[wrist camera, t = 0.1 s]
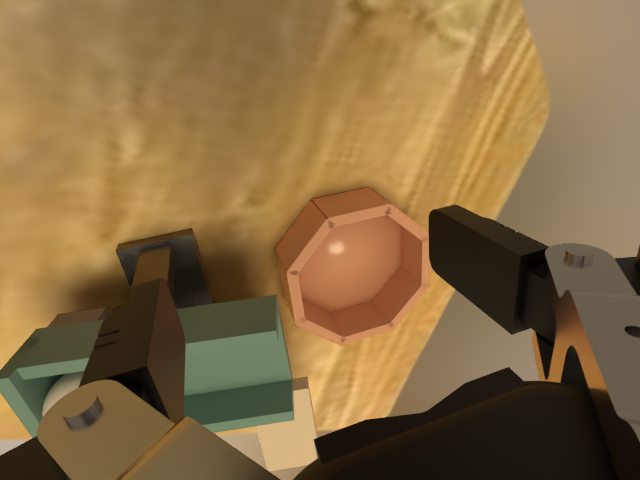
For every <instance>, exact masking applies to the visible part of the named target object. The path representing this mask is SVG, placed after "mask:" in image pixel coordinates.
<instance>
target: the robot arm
mask: <svg viewBox="0 0 640 480" xmlns="http://www.w3.org/2000/svg"><path fill="white" fill-rule="evenodd" d="M429 260H430V263H431V266H432V268H433V270H434V271H435V272H436V274H438V275H439V276H440V277H441V278H442V279H444V280H445V281H446V282H447V283H449V284H450V285H451V286H452V287H454V288H455V289H456V290H457V291H458V292H460V293H461V294H462V295H463V296H465V297H466V298H467V299H468V300H470V301H471V302H472V303H473V304H475V305H476V306H477V307H478V308H479V309H481V310H482V311H483V312H484V313H486V314H487V315H488V316H489V317H491V318H492V319H493V320H494V321H496V322H497V323H498V324H499V325H500V326H502V327H503V328H504V329H505V330H507V331H508V332H509V333H510V334H515V333H517V332H521V331H524V330H527V329H529V328H532V329H533V330H534V331H533V338H532V344H533V349H534V354H535V359H536V365H537V370H538V375H539V381H523V380H522V379H521V378H520V377H519V376H518V375H516V374H515V373H514V372H513V371H512V370H511V369H510V368H509V367H508V368H505V369H502V370H500V371H497V372H494V373H491V374H489V375H486V376H483V377H481V378H478V379H475V380H472V381H470V382H467V383H465V384H463V385H462V386H461V387H459V388H458V389H457V390H455V391H454V392H453V393H451V394H450V395H449V396H447V397H446V398H444V399H443V400H442V401H440V402H439V403H438V404H436V405H435V406H433V407H432V408H431V409H429V410H428V411H426V412H423V413H418V414H410V415H402V416H394V417H385V418H377V419H369V420H364V421H362V422H359V423H356V424H354V425H351V426H348V427H345V428H343V429H340V430H337V431H335V432H332V433H329V434H327V435H324V436H321V437H318V438H316V439H314V444H315V449H316V454H317V459H316V460H315V461H313V462H312V463H310V464H309V465H308V466H307V467H306V468H304V469H303V470H302V471H301V472H300V473H299V474H298V475H297V476H296V477H295V478H294V479H293V480H640V247H639V250H638V254H637V257H627V258H615V259H614V258H613V257H612V255H610V254H609V253H608V252H606V251H604V250H602V249H599V248H596V247H593V246H589V245H584V244H575V243H564V244H557V245H553V246H551V247H548V246H546V245H544V244H542V243H540V242H538V241H536V240H534V239H532V238H529V237H527V236H525V235H523V234H521V233H519V232H515V230H513V229H511V228H509V227H504V225H502V224H500V223H498V222H496V221H494V220H492V219H489V218H484V217H481V216H479V215H477V214H475V213H473V212H471V211H468V210H466V209H464V208H462V207H460V206H458V205H451V206H447V207H443V208H439V209H435V210H432V211H431V212H430V215H429ZM93 348H94V350H92V352H91V355H90V357H89V360H88V363H87V365H86V368H85V371H84V373H83V376H82V379H81V382H80V384H79V387H78V388H77V389H75V390H73V391H71V392H70V393H68V394H66V395H65V396H64V397H62V398H61V399H60V400H58V401H57V402H56V403H55V404H54V405H53V406H52V407H51V408H50V409H49V410H48V411H47V412H46V414H45V415H44V416H43V418H42V419H41V421H40V423H39V426H38V429H37V436H36V437H34V438H32V439H30V440H29V441H27V442H25V443H23V444H21V445H20V446H18V447H16V448H14V449H12V450H10V451H8V452H6V453H4V454H3V455H1V456H0V480H280V479H279V478H277V477H276V476H274V475H273V474H272V473H270V472H269V471H267V470H266V469H264V468H263V467H262V466H260V465H259V464H257V463H256V462H254V461H253V460H252V459H250V458H249V457H247V456H246V455H244V454H243V453H241V452H240V451H239V450H237V449H236V448H234V447H233V446H231V445H230V444H228V443H227V442H226V441H224V440H223V439H221V438H220V437H218V436H217V435H216V434H214V433H213V432H211V431H210V430H208V429H207V428H206V427H204V426H203V425H201V424H200V423H198V422H197V421H195V420H194V419H192V418H190V417H184V384H185V351H186V344H185V336H184V331H183V327H182V324H181V321H180V318H179V316H178V313H177V310H176V307H175V304H174V302H173V299H172V296H171V293H170V291H169V288H168V285H167V283H166V281H165V279H164V278H163V277H161V278H157V279H153V280H149V281H145V282H141V283H137V284H134V285H133V286H132V289H131V293H130V296H129V299H128V303H127V305H125V306H121V307H117V308H115V309H114V310H113V311H112V312H111V313H110V315H109V316H108V317H107V318H106V319H105V320H104V321H103V322H102V325H101V328H100V330H99V333H98V338H96V341H95V344H94V347H93Z"/></svg>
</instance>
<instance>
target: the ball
mask: <svg viewBox="0 0 640 480" xmlns="http://www.w3.org/2000/svg"><path fill="white" fill-rule="evenodd" d="M83 373H84V371H81V372H74V373H67V374H65V375H64V376H62V377H61V378H60V379H59V380H58V381H57V382H56V383H55V384H54V385H53V386H52V387H51V389H50V390H49V392H48V394H47V396H46V398H45V401H44V404H43V410H42V416H44V415H45V414H46V412H47V411H48V410H49V409H50V408H51V407H52V406H53V405H54V404H55V403H56V402H57V401H58V400H60V399H61V398H62V397H64V396H65V395H66V394H68V393H70V392H71V391H73V390H75V389H77V388H78V387H79V384H80V382H81V379H82V376H83Z"/></svg>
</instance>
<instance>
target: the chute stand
mask: <svg viewBox="0 0 640 480" xmlns="http://www.w3.org/2000/svg"><path fill="white" fill-rule="evenodd" d="M116 253H117V255H118V257H119V260H120V262H121V265H122V267H123V270H124V272H125V275H126V277H127V280H128V282H129V284H130V287H131V289H132V286H133V285H134V284H137V283H141V282H145V281H149V280H153V279H157V278H161V277H163V278H164V279H165V281H166V283H167V285H168V288H169V291H170V293H171V296H172V299H173V302H174V304H175V307H176V309H180V308H187V307H194V306H201V305H208V304H214V303H213V300H212V296H211V293H210V289H209V286H208V283H207V279H206V276H205V272H204V269H203V265H202V262H201V259H200V255H199V252H198V248H197V245H196V241H195V238H194V235H193V231H192V229H189V230H184V231H179V232H175V233H170V234H165V235H161V236H156V237H152V238H147V239H142V240H138V241H133V242H128V243H124V244H119V245H118V247H117V249H116ZM130 293H131V290H130ZM129 296H130V294H129Z"/></svg>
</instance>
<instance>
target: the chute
mask: <svg viewBox="0 0 640 480" xmlns="http://www.w3.org/2000/svg"><path fill="white" fill-rule="evenodd" d="M176 310H177V313H178V316H179V318H180V321H181V324H182V327H183V331H184V336H185V344H186V351H185V384H184V417H190V418H192V419H194V420H195V421H197V422H198V423H200V424H201V425H203V426H204V427H206V428H207V429H208V430H210V431H211V432H213V433H215V432H221V431H228V430H234V429H241V428H247V427H254V426H256V430H257V433H258V437H259V440H260V443H261V447H262V451H263V454H264V458H265V462H266V465H267V469H268V471H273V470H279V469H285V468H292V467H298V466H304V465H309V464H310V463H312V462H313V461H315V460H316V459H317V454H316V449H315V444H314V439H316V438H318V437H317V431H316V425H315V419H314V413H313V407H312V401H311V395H310V389H309V383H308V377H302V378H295V379H293V378H292V372H291V367H290V362H289V357H288V352H287V347H286V341H285V336H284V331H283V326H282V321H281V316H280V311H279V305H278V300H277V295H271V296H264V297H257V298H250V299H243V300H236V301H229V302H222V303H215V304H208V305H201V306H194V307H187V308H180V309H176ZM108 316H109V313H108V311H107V309H106V308H99V309H92V310H85V311H78V312H71V313H64V314H58V315H57V316H56V317H55V318H54V320H53V321H52V322H51V323H50V324H49V326H48V327H47V328H40V329H36V330H35V331H34V332H33V333H32V335H31V336H30V337H29V338H28V339H27V340H26V341H25V343H24V344H23V345H22V346H21V347H20V348H19V350H18V351H17V352H16V353H15V354H14V355H13V356H12V358H11V359H10V360H9V361H8V362H7V363H6V364H5V366H4V367H3V368H2V369H1V370H0V393H1V394H2V396H3V397H4V398H5V400H6V401H7V403H8V404H9V405H10V407H11V408H12V410H13V411H14V412H15V414H16V415H17V417H18V418H19V419H20V421H21V422H22V424H23V425H24V426H25V428H26V429H27V431H28V432H29V433H30V435H31V436H32V438H34V437H36V436H37V429H38V426H39V423H40V421H41V419H42V418H43V416H42V410H43V404H44V401H45V398H46V396H47V394H48V392H49V390H50V389H51V387H52V386H53V385H54V384H55V383H56V382H57V381H58V380H59V379H60V378H61V377H62V376H64V375H65V374H67V373H74V372H81V371H85V368H86V365H87V363H88V360H89V357H90V355H91V352H92V350H94V348H93V347H94V344H95V341H96V338H98V333H99V330H100V328H101V325H102V322H103V321H104V320H105V319H106V318H107V317H108Z"/></svg>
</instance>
